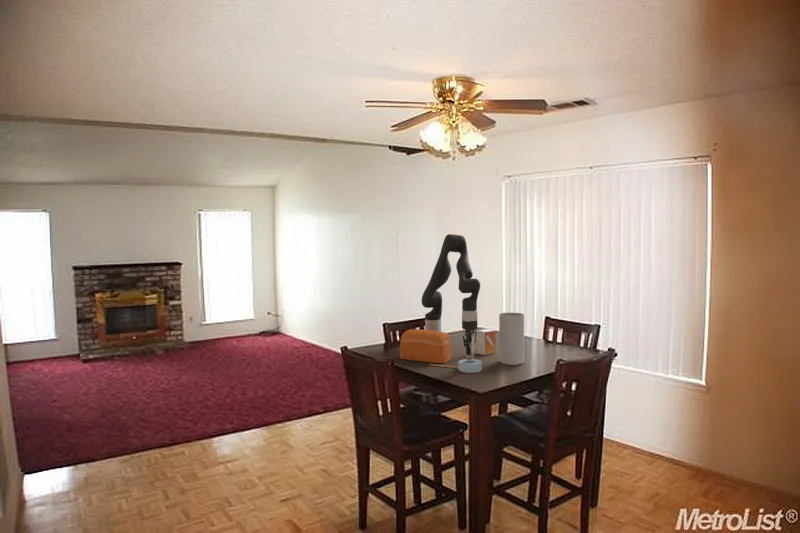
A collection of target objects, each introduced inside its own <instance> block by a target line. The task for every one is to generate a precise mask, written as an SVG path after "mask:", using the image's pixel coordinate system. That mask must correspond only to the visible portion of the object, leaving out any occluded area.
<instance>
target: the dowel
mask: <svg viewBox="0 0 800 533" xmlns="http://www.w3.org/2000/svg"><path fill="white" fill-rule="evenodd" d="M469 341H470V340H469ZM467 344H468V343H467ZM474 353H475V343H474V335H473V337H472V343H471V355H467V354H465V355H466V356H465V357H466V358H465V359H467V360H474V359H475V356H474V355H475V354H474Z"/></svg>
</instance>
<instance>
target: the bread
mask: <svg viewBox="0 0 800 533" xmlns="http://www.w3.org/2000/svg"><path fill="white" fill-rule="evenodd" d="M451 344H452V343H451V341H450V335H449V334H448V333H446V332H444V331H441V332H438V331H432V330H425V329H416V328H415V329H408V330H406V331H404V333H402V335H401V336H400V343H399V358H400V359H401V360H405V359H406V361H413V362H414V361H416V362H424V363H430V364H445V363H447V362H449V361H450V360H451V358H452V352H451V351H452V350H451V349H452V346H451Z"/></svg>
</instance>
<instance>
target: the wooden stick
mask: <svg viewBox="0 0 800 533" xmlns="http://www.w3.org/2000/svg"><path fill="white" fill-rule="evenodd" d="M428 364H429V366H431V365H432V367H443V368H452V369H458V366H456V365H454V366H453V365H445V364H443V365H442V364H437V363H428Z"/></svg>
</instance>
